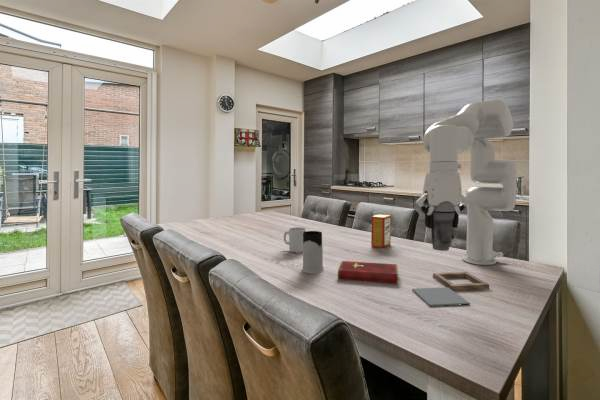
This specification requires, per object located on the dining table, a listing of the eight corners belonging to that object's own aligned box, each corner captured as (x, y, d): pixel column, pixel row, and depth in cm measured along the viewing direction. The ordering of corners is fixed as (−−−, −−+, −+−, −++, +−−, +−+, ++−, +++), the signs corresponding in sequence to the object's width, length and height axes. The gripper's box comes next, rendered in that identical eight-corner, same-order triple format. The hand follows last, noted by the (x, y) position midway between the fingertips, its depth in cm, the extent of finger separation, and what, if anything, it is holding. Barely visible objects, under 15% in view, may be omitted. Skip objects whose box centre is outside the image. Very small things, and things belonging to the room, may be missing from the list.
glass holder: (298, 272, 121) (298, 234, 119) (310, 261, 134) (309, 227, 133) (320, 274, 118) (319, 235, 116) (329, 263, 131) (329, 228, 130)
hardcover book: (398, 285, 107) (398, 273, 106) (337, 280, 112) (337, 269, 112) (396, 274, 118) (397, 263, 118) (342, 270, 124) (342, 260, 123)
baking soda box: (378, 243, 166) (378, 213, 164) (390, 244, 162) (390, 214, 160) (371, 246, 158) (371, 215, 157) (383, 248, 154) (384, 216, 153)
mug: (309, 249, 155) (308, 227, 154) (302, 253, 147) (301, 231, 146) (288, 247, 160) (287, 226, 159) (280, 251, 152) (279, 229, 151)
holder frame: (466, 275, 114) (466, 271, 114) (489, 288, 101) (489, 284, 101) (433, 277, 113) (433, 273, 113) (452, 290, 100) (452, 286, 100)
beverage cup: (457, 252, 89) (459, 183, 88) (430, 251, 91) (432, 183, 89) (450, 246, 97) (452, 182, 95) (425, 245, 98) (427, 182, 96)
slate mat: (447, 289, 102) (447, 287, 102) (469, 304, 90) (470, 302, 90) (412, 290, 101) (412, 288, 101) (429, 306, 89) (429, 304, 89)
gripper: (464, 167, 96) (461, 224, 97) (409, 168, 95) (408, 225, 96) (479, 167, 88) (476, 229, 90) (420, 168, 87) (418, 230, 89)
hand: (441, 226), depth 93 cm, fingers closed on beverage cup, 6 cm apart
